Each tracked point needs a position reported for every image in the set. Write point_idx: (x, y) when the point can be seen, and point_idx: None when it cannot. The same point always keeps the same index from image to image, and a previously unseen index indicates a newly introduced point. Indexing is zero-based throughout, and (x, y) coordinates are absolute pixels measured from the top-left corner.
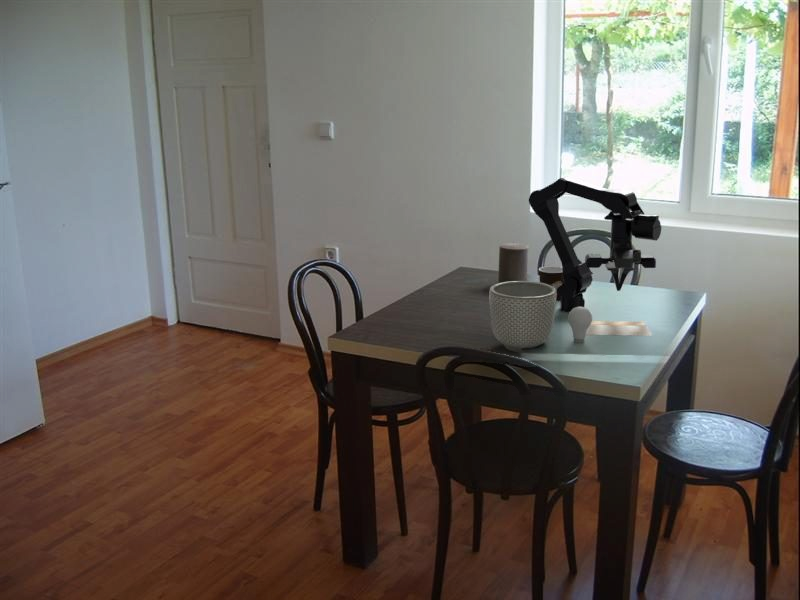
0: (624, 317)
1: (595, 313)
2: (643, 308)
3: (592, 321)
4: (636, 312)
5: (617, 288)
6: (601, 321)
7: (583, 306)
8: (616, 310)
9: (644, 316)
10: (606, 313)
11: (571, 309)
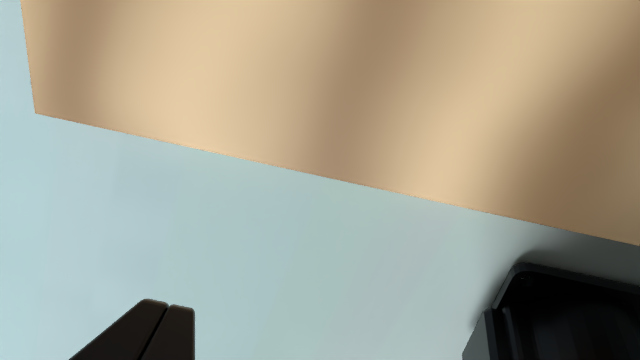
0: (170, 198)
1: (367, 317)
2: (6, 333)
3: (588, 24)
4: (60, 278)
5: (180, 336)
6: (482, 8)
7: (501, 356)
8: None
9: (9, 190)
10: (284, 302)
11: (629, 338)
